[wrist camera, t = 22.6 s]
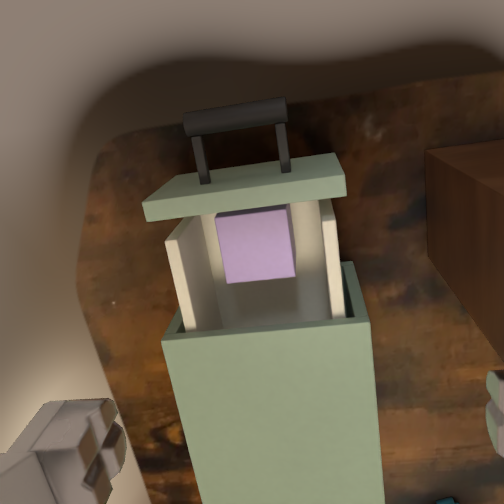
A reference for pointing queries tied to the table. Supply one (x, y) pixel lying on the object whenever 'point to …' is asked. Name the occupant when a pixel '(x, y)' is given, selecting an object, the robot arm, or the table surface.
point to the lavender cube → (257, 243)
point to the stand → (469, 229)
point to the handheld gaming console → (446, 501)
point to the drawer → (246, 197)
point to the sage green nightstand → (281, 408)
